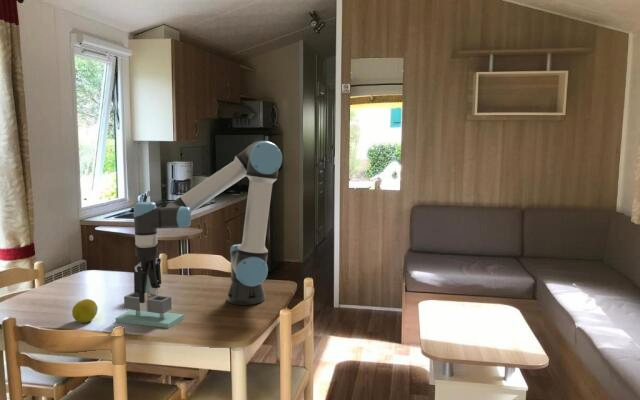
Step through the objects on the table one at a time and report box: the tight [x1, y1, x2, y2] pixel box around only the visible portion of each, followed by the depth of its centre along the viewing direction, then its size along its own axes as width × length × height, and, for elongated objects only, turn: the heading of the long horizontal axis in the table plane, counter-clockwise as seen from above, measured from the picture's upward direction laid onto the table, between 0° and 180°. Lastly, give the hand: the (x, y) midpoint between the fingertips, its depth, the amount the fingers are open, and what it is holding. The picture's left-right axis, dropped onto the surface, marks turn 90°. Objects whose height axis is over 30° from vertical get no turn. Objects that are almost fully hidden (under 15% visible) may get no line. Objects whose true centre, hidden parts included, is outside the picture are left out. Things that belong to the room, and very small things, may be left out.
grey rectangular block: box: [123, 291, 172, 314], centre depth 188 cm, size 16×6×5 cm, turn 73°
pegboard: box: [115, 309, 185, 329], centre depth 188 cm, size 22×10×6 cm, turn 73°
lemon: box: [71, 298, 98, 324], centre depth 188 cm, size 11×8×8 cm
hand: (149, 307), depth 188 cm, fingers closed on grey rectangular block, 5 cm apart
